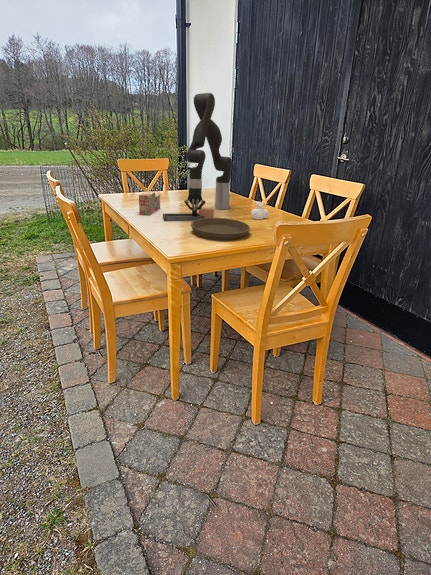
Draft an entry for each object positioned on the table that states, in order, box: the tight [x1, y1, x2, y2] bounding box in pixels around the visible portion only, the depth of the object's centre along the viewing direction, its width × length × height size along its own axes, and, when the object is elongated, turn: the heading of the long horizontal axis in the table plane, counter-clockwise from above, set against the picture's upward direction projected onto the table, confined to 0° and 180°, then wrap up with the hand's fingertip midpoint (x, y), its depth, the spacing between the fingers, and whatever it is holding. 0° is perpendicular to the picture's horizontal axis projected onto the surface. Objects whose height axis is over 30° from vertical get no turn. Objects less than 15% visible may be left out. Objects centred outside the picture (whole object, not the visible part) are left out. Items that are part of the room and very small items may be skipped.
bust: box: [250, 200, 270, 220], centre depth 226 cm, size 12×8×11 cm
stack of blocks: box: [138, 190, 161, 217], centre depth 227 cm, size 21×6×12 cm, turn 170°
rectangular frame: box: [162, 212, 204, 222], centre depth 215 cm, size 23×8×2 cm, turn 104°
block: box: [198, 207, 215, 218], centre depth 218 cm, size 8×4×6 cm, turn 104°
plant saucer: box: [190, 217, 251, 241], centre depth 192 cm, size 31×31×5 cm
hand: (194, 216), depth 217 cm, fingers closed
